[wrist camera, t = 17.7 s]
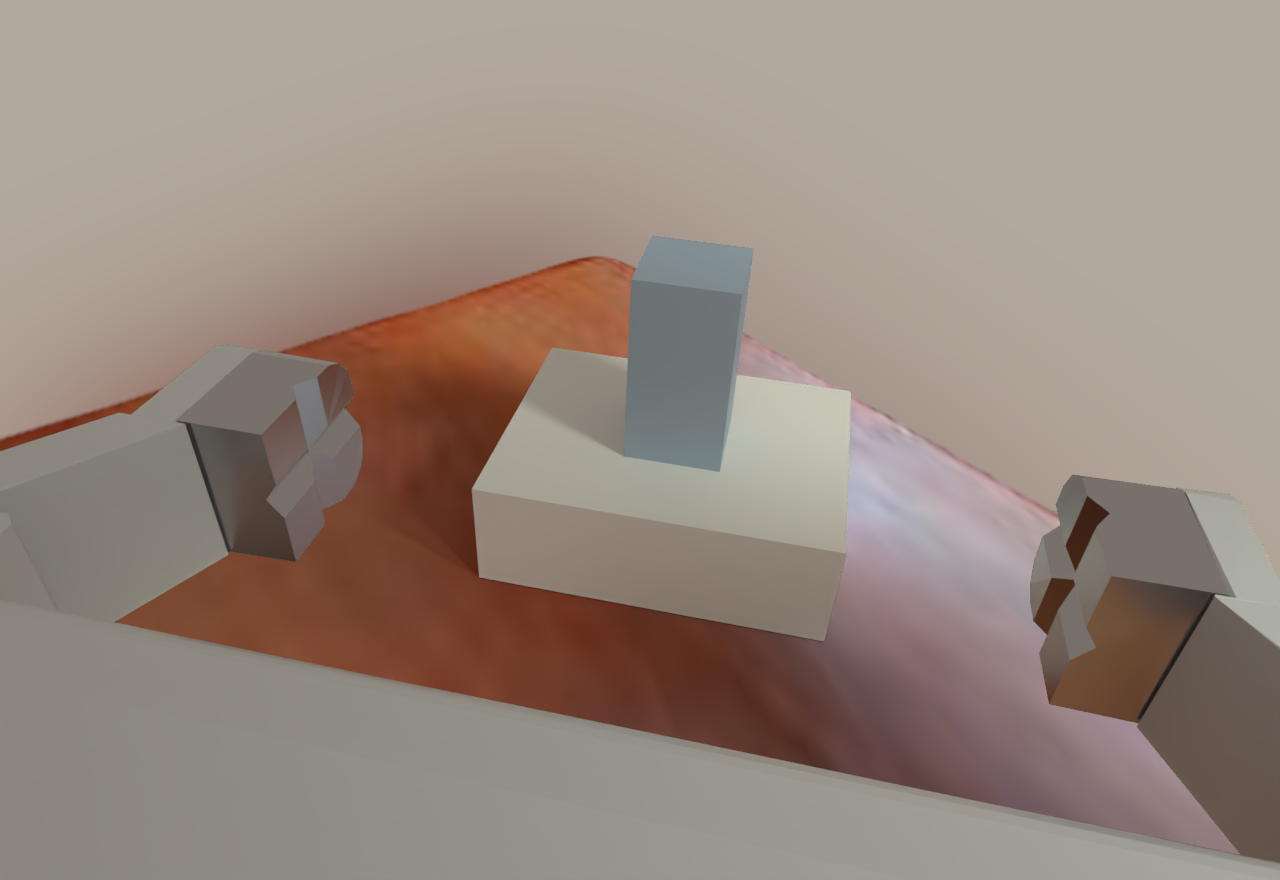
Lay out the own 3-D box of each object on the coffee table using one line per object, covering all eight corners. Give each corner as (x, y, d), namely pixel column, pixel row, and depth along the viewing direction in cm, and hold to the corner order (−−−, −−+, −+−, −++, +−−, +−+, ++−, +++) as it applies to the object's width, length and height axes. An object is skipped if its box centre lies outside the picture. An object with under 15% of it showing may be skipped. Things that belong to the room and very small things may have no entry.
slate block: (731, 417, 49) (753, 248, 43) (719, 471, 45) (742, 294, 39) (642, 403, 50) (652, 235, 44) (623, 456, 46) (631, 279, 40)
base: (832, 472, 56) (850, 391, 52) (824, 641, 44) (846, 553, 41) (553, 427, 58) (552, 347, 54) (479, 577, 47) (471, 489, 43)
